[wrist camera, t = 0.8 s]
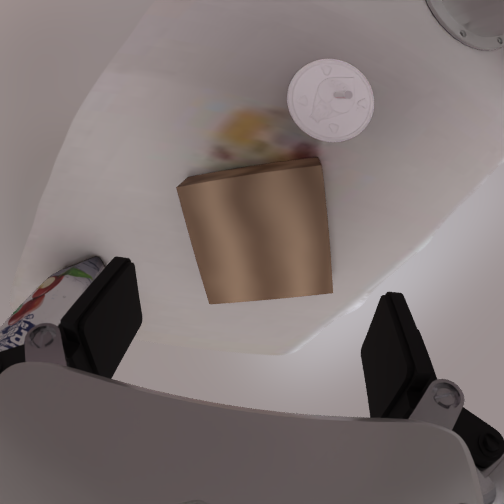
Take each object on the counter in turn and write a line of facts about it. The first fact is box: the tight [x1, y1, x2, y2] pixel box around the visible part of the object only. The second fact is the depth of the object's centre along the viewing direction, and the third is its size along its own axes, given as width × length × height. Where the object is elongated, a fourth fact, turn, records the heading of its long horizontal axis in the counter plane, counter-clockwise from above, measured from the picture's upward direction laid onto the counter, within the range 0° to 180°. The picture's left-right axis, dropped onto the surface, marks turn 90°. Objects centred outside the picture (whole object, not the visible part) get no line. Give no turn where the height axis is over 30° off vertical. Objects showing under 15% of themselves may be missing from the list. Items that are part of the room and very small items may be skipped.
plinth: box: [176, 157, 333, 304], centre depth 34 cm, size 14×14×4 cm
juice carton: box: [0, 257, 105, 352], centre depth 31 cm, size 9×10×27 cm
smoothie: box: [287, 59, 374, 142], centre depth 23 cm, size 6×6×14 cm
